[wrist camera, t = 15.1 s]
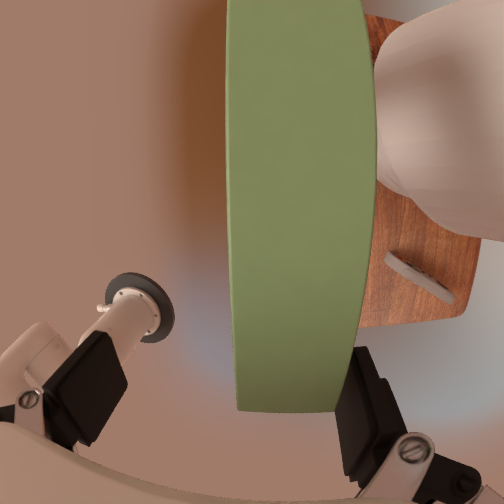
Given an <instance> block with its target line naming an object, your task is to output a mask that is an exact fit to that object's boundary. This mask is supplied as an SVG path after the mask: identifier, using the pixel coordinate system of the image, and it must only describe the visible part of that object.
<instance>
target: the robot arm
mask: <svg viewBox="0 0 504 504" xmlns="http://www.w3.org/2000/svg"><path fill="white" fill-rule="evenodd" d="M97 310H98V311H99V312H106V313H105V314H104V315H103V316H101V317H100V318H99V319H98V320H97V321H96V322H95V323H94V324H93V325H92V326H91V327H90V329H88V330H87V331H86V332H85V333H84V334H83V335H82V337H81V339H80V341H79V344H78V347H77V349H76V350H75V351H74V350H73V349H72V348H71V347H70V346H69V345H68V343H67V342H66V341H65V340H64V339H63V338H62V336H61V335H60V334H59V333H58V332H57V331H56V329H55V328H54V327H53V326H52V325H51V324H49V323H48V322H45V321H40V322H38V323H36V324H34V325H33V326H31V327H30V328H29V329H28V330H26V331H25V332H24V333H23V334H22V335H21V336H20V337H19V338H18V339H17V340H16V341H15V342H14V343H13V344H12V345H11V346H10V347H9V348H8V349H7V350H6V351H5V352H4V353H3V354H2V355H1V356H0V504H504V498H503V497H502V496H501V495H499V494H498V493H497V492H496V491H494V490H493V489H492V488H490V487H489V486H488V485H486V486H482V485H481V483H482V482H481V476H480V473H479V472H478V471H477V470H476V469H474V468H472V467H470V466H467V465H464V464H461V463H459V462H456V461H454V460H451V459H448V458H446V457H444V456H441V455H439V454H436V453H434V452H435V447H434V443H433V442H432V440H431V439H430V438H429V437H428V436H427V435H424V434H423V433H419V432H410V433H408V432H407V429H406V426H405V423H404V421H403V418H402V416H401V413H400V411H399V408H398V405H397V402H396V400H395V397H394V395H393V392H392V390H391V388H390V385H389V383H388V381H387V379H385V378H380V377H379V375H378V372H377V370H376V367H375V365H374V362H373V360H372V358H371V355H370V353H369V350H368V348H367V347H366V346H362V347H354V348H353V352H352V356H351V360H350V364H349V367H348V371H347V375H346V378H345V382H344V385H343V389H342V392H341V395H340V399H339V402H338V405H337V408H336V411H335V415H336V422H337V428H338V434H339V441H340V447H341V454H342V461H343V469H344V474H345V476H349V478H350V482H354V481H358V485H359V487H360V488H361V489H360V491H359V492H358V493H357V494H356V496H355V497H354V498H348V499H336V500H319V501H296V502H280V501H279V502H278V501H277V502H276V501H252V500H240V499H239V500H238V499H230V498H222V497H214V496H208V495H202V494H196V493H191V492H186V491H182V490H177V489H173V488H168V487H165V486H161V485H157V484H154V483H150V482H147V481H144V480H140V479H137V478H134V477H131V476H128V475H125V474H122V473H120V472H117V471H114V470H112V469H109V468H107V467H104V466H102V465H100V464H97V463H95V462H93V461H90V460H88V459H86V458H84V457H82V456H80V455H78V451H77V447H76V442H77V441H79V442H80V443H82V444H84V445H86V446H88V447H90V445H91V443H92V442H94V441H96V439H97V438H98V436H99V434H100V432H101V431H102V429H103V427H104V426H105V424H106V422H107V420H108V419H109V417H110V416H111V414H112V412H113V411H114V409H115V407H116V406H117V404H118V402H119V401H120V399H121V397H122V396H123V394H124V392H125V391H126V389H127V385H128V383H127V380H126V377H125V375H124V372H123V369H122V365H123V364H124V363H125V361H126V360H127V359H128V357H129V356H130V354H131V353H132V352H133V350H134V348H135V347H136V346H137V345H138V343H139V342H140V340H141V339H142V338H143V336H145V335H150V334H152V333H154V332H155V331H156V330H157V329H158V327H159V325H160V322H161V315H160V310H159V308H158V306H157V304H156V302H155V301H154V300H153V298H152V297H151V296H150V295H149V294H147V293H146V292H145V291H143V290H141V289H139V288H136V287H125V288H122V289H120V290H119V291H118V292H117V293H116V294H115V296H114V298H113V303H112V304H108V305H105V304H98V305H97ZM25 370H26V371H27V372H28V373H29V374H30V375H31V377H32V378H33V379H34V380H35V381H36V382H37V383H38V385H39V386H40V387H41V388H42V389H43V390H44V393H43V394H42V393H41V391H40V390H38V389H37V388H32V387H31V386H30V385H29V384H28V383H27V382H26V380H25V378H24V371H25Z"/></svg>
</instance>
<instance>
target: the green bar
mask: <svg viewBox="0 0 504 504" xmlns="http://www.w3.org/2000/svg"><path fill="white" fill-rule="evenodd" d="M226 35H227V36H226V184H227V185H226V186H227V222H228V223H227V225H228V253H229V279H230V302H231V319H232V320H231V321H232V339H233V355H234V371H235V386H236V400H237V409H238V410H239V411H248V412H265V413H320V412H321V413H322V412H334V411H336V408H337V405H338V402H339V399H340V395H341V392H342V389H343V385H344V382H345V378H346V375H347V371H348V367H349V364H350V360H351V356H352V352H353V348H354V343H355V339H356V334H357V330H358V326H359V321H360V316H361V311H362V306H363V300H364V295H365V289H366V283H367V276H368V269H369V262H370V255H371V246H372V238H373V228H374V216H375V203H376V185H377V113H376V96H375V83H374V73H373V64H372V55H371V48H370V41H369V35H368V29H367V24H366V18H365V13H364V9H363V4H362V0H227V32H226Z"/></svg>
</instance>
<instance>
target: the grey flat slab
mask: <svg viewBox="0 0 504 504" xmlns="http://www.w3.org/2000/svg"><path fill="white" fill-rule="evenodd" d="M383 261H384V262H385V263H386V264H387V265H388V266H389V267H390V268H392V269H393V270H394V271H396V272H397V273H399V274H400V275H401V276H403V277H405V278H406V279H408V280H409V281H411V282H413V283H415V284H416V285H418V286H420V287H421V288H423V289H425V290H426V291H428V292H429V293H431V294H433V295H434V296H436V297H438V298H439V299H441V300H442V301H444V302H446V303H447V304H450V305H451V304H452V303H453V301H454V299H455V298H456V296H455V294H454V293H453V292H451V291H450V290H449V289H448V288H447V287H445V286H444V285H443V284H441V283H440V282H439V281H437V280H436V279H434V278H433V277H431V276H429V275H428V274H426V273H425V272H423V271H421V270H420V269H418V268H417V267H415V266H414V265H412V264H410V263H409V262H407V261H406V260H405V259H403V258H402V257H400V256H398V255H396V254H395V253H393V252H391V251H387V253H386V255H385V257H384V258H383Z"/></svg>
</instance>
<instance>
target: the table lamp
mask: <svg viewBox="0 0 504 504" xmlns="http://www.w3.org/2000/svg"><path fill="white" fill-rule="evenodd" d="M374 83H375V96H376V113H377V180H378V181H379V182H381V183H382V184H383V185H384V186H385V187H386V188H388V189H390V190H392V191H393V192H395V193H398V194H400V195H403V196H405V197H408V198H411V199H412V200H413V201H414V202H415V204H416V205H417V206H418V207H419V208H420V209H421V210H422V211H423V212H424V213H425V214H426V215H427V216H428V217H429V218H430V219H431V220H432V221H434V222H435V223H437V224H438V225H440V226H441V227H443V228H444V229H446V230H449V231H451V232H454V233H456V234H459V235H465V236H472V237H478V238H484V239H489V240H495V241H501V242H504V0H459V1H456V2H454V3H451V4H448V5H446V6H443V7H441V8H438V9H436V10H433V11H431V12H429V13H426V14H424V15H422V16H420V17H417V18H415V19H413V20H411V21H409V22H407V23H405V24H403V25H401V26H399V27H398V28H397V29H396V30H394V31H393V32H392V33H390V35H389V36H388V37H387V39H386V40H385V42H384V43H383V45H382V46H381V48H380V51H379V54H378V56H377V59H376V62H375V67H374Z"/></svg>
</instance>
